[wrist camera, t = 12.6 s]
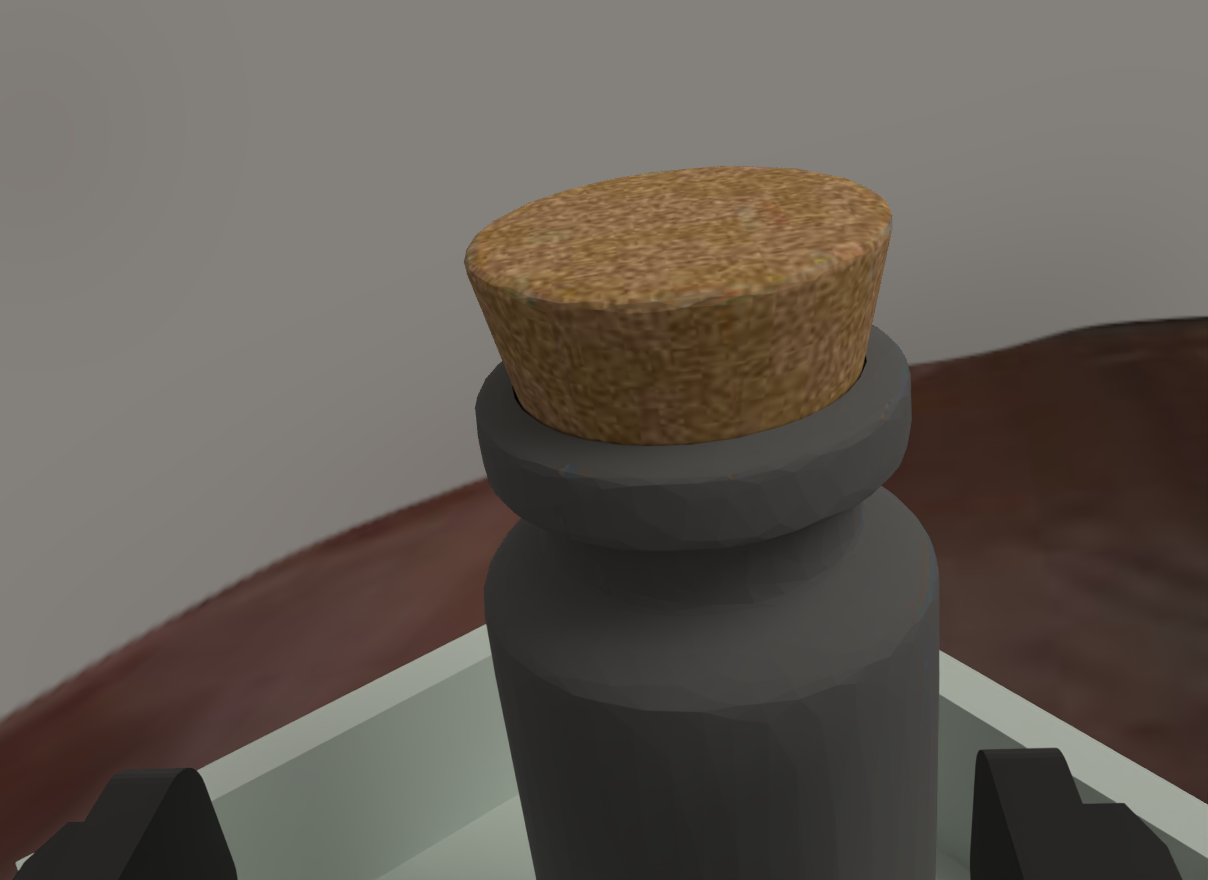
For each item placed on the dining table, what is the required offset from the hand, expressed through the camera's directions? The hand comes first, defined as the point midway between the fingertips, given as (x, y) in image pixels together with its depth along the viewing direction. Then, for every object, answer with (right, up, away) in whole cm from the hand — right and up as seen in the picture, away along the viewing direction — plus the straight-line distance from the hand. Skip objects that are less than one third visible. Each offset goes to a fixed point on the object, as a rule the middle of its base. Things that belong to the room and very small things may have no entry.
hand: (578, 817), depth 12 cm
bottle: (+3, -7, +8) cm, 11 cm away
